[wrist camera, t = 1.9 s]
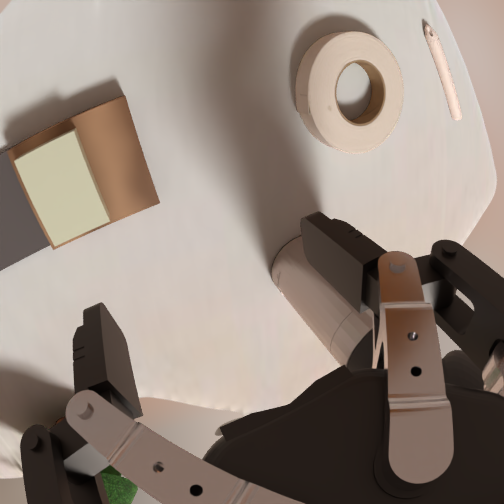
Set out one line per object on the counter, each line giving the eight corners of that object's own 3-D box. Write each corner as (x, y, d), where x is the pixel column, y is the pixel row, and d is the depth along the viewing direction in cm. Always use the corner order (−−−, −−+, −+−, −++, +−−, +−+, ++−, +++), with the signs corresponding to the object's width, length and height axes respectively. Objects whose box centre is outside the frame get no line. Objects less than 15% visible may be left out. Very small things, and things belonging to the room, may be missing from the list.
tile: (76, 127, 23) (73, 130, 22) (109, 213, 29) (110, 221, 27) (19, 156, 22) (14, 161, 21) (57, 237, 27) (54, 246, 26)
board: (124, 95, 26) (125, 96, 24) (157, 196, 32) (160, 203, 30) (12, 147, 23) (6, 151, 21) (55, 240, 29) (53, 249, 28)
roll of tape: (362, 14, 30) (378, 13, 28) (401, 111, 40) (415, 115, 37) (269, 68, 30) (282, 68, 28) (327, 171, 40) (340, 179, 38)
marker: (417, 26, 33) (430, 26, 31) (424, 21, 33) (436, 22, 31) (449, 118, 44) (460, 122, 43) (454, 112, 44) (465, 115, 42)
